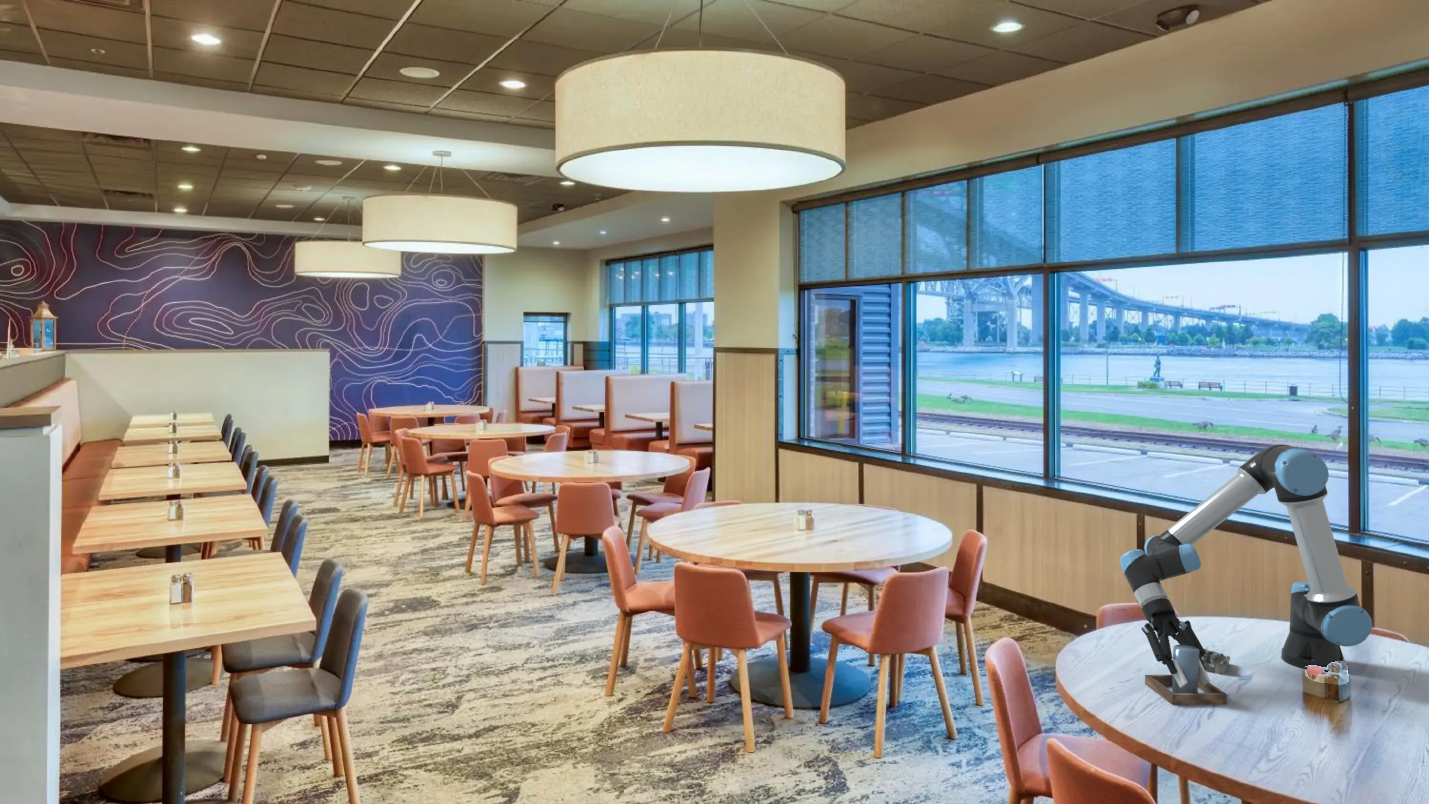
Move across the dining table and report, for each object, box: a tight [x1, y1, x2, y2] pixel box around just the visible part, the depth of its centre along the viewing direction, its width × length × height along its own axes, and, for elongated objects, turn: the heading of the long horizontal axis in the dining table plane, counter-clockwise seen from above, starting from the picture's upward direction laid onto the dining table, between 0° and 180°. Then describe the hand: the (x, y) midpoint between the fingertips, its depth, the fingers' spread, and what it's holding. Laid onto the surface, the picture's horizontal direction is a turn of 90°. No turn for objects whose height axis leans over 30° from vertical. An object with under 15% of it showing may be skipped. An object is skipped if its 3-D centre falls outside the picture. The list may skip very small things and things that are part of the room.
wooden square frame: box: [1144, 674, 1228, 705], centre depth 243 cm, size 14×14×2 cm
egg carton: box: [1201, 648, 1231, 675], centre depth 262 cm, size 11×8×4 cm
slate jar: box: [1171, 644, 1199, 693], centre depth 242 cm, size 6×6×12 cm
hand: (1195, 684), depth 239 cm, fingers closed on slate jar, 6 cm apart
